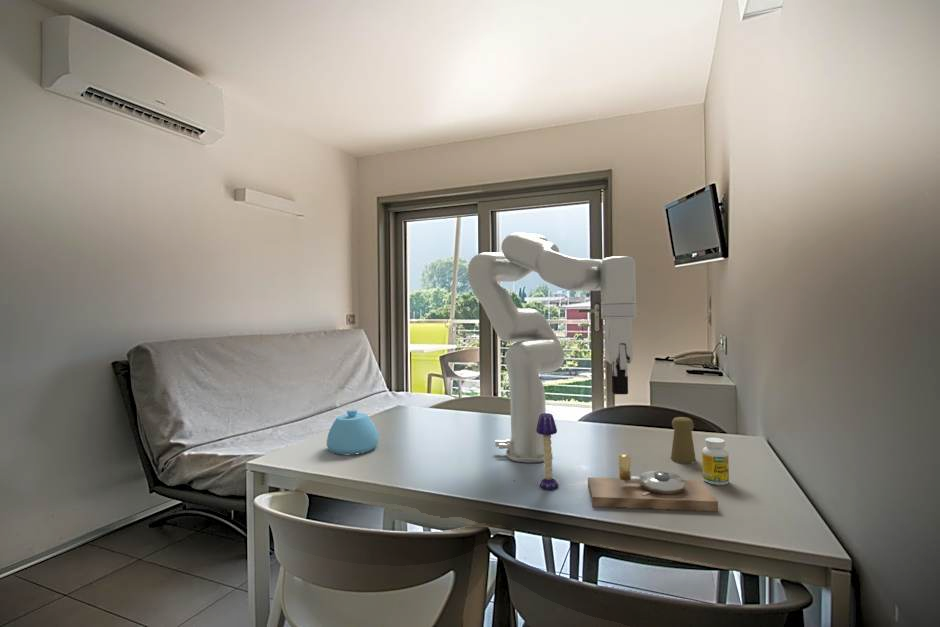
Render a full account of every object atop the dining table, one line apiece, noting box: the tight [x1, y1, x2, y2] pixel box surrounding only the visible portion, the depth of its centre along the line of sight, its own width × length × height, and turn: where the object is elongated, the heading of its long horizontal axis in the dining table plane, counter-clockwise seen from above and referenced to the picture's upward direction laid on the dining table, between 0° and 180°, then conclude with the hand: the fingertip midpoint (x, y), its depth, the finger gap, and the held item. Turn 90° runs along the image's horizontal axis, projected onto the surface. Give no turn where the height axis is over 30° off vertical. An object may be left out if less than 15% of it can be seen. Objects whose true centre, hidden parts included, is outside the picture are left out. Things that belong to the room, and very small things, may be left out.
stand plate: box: [587, 476, 719, 512], centre depth 101 cm, size 24×11×2 cm, turn 81°
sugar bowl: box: [326, 409, 380, 455], centre depth 142 cm, size 15×15×12 cm
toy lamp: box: [536, 412, 559, 491], centre depth 109 cm, size 5×5×17 cm
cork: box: [670, 416, 697, 464], centre depth 125 cm, size 6×6×11 cm
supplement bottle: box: [701, 437, 730, 486], centre depth 110 cm, size 5×5×10 cm
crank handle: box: [618, 453, 686, 494], centre depth 102 cm, size 13×9×6 cm
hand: (620, 393), depth 108 cm, fingers closed
